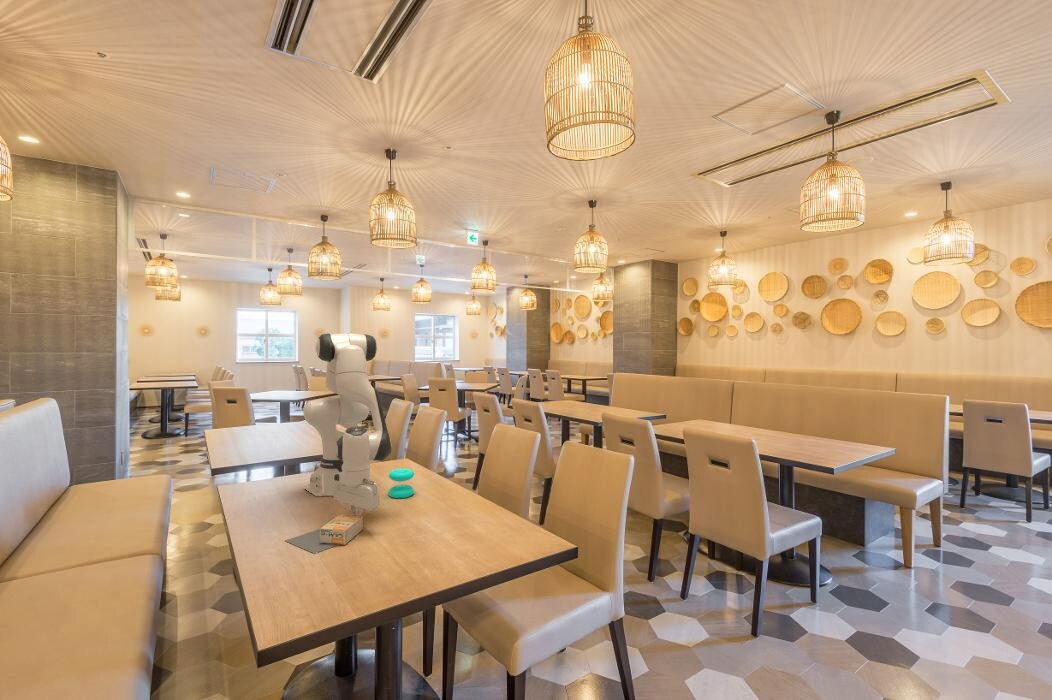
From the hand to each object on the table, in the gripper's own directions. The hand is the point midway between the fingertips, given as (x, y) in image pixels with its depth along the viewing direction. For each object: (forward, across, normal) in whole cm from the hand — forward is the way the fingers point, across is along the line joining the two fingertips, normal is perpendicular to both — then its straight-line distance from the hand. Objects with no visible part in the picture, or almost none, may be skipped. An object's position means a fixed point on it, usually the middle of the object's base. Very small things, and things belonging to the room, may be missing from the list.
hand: (355, 518), depth 162 cm
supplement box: (+1, 0, +2) cm, 2 cm away
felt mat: (+3, 0, +13) cm, 13 cm away
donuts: (+3, +15, -33) cm, 36 cm away
